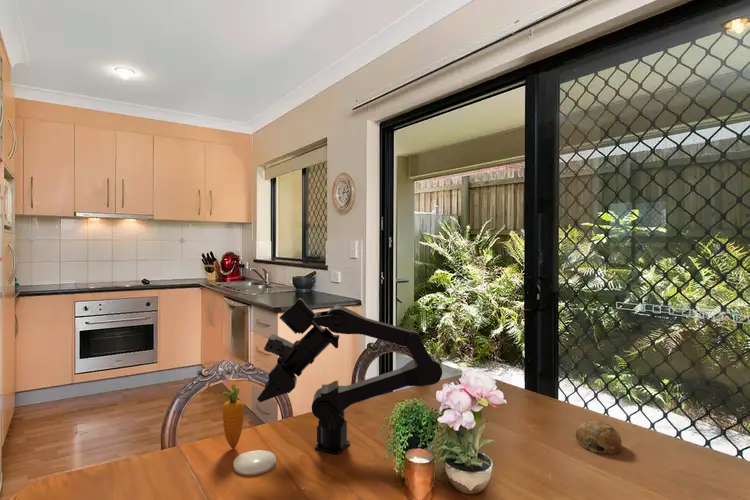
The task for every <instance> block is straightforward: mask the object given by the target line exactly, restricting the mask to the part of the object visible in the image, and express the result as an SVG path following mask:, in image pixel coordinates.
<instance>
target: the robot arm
mask: <svg viewBox="0 0 750 500" xmlns="http://www.w3.org/2000/svg"><path fill="white" fill-rule="evenodd" d="M279 320H281V321H282V322H283V323H284V324H285V325H286V326H287V327H288V329H290V330H291V331H292V332H293V333H294V334H295V335H297V334H299V335H304V334H305V332H306V334H305V335H304V336H302V337H301V338H300V339H298V340H295V342H291V341H290V340H288V339H285V338H283V337H280V336H279V335H276V334H271V335H270V336H269V337H268V340H267V342H266V344H265V345H264V348H263V350H264V351H265V352H267V353H271V354H273V355H276V356H278V357H277V359H276V361H277V363H276V364H275V366H274V367H272V369H271V370H270V371H269V373H268V380H267V381H266V383H265V384H264V388H263V390H262V391H261V393H260V394H259V395H258V396H257V399H256V400H257V401H258V402H259V403H262V402H265V401H267V400H270V399H273V398H276V397H278V396H282V395H284V394H285V395H286V394H290V393H291V392H292V391H293V390H294V389H295V388H296V385H297V382H298V380H297V379H298V378H297V377H300V376H301V375H302V373H303V371H304V370H305V369H306V368H307V367H308V366H309V365H312V364H313V363H314V362H315V359H316V358H317V357H318V356H320V354H321V353H322V352H324V351H325V349H326V348H327V347H328V346H329V345H332V346H333V348H335V349H339V339H340V335H339V334H342V335H363V336H367V337H369V338H373V339H378V340H381V341H385V342H387V343H388V342H389V343H392V344H395V345H399V346H403V347H406V348H408V350H409V352H410V354H411V356H412V357H413V359H411V360H410V361H408V362H407V363H405V365H403V366H402V367H400V368H397V369H394V370H392V371H388V372H385V373H382V374H379V375H376V376H374V377H370V378H367V379H364V380H361V381H358V382H355V383H352V384H349V385H348V384H347V385H339V380H335V381H332V382H330V383H328V384H322V385H321V387H320V388H319V389H317V390H316V391H315V392H314V395H313V399H312V403H311V412H312V414H313V416H314V417H315V418H316V419H318V421H317V422H318V423H317V424H318V425H317V426H316V445H314V450H319V451H323V452H327V453H331V454H335V455H338V454H340V453H341V452H342V451H344V449H345V448H347V447H348V446H349V445H350V444H351V441H350V440H348V439H347V438H348V421H347V420H346V419H345V418H346V415H345V413H346V409H347V408H349V407H350V406H351V405H355V404H357V403H361V402H363V401H367V400H369V399H372V398H375V397H379V396H382V395H385V394H388V393H390V392H394V391H396V390H400V389H403V388H406V387H426V386H427V387H428V386H433V385H436V384H437V383H439V382H440V380H441V378H442V377H443V376H442V375H443V369H442V367H441V365H440V363H439V362H438V361H437V359H436V358H435V357H434V356H432V355H431V354H430V353H429V352H428V350H427V348H426V346H424V343H423V342H422V339H421V336H420V335H419V333H418V332H417V331H416V330H414V329H412V328H411V329H407V328H405V327H404V328H403V327H400V326H396V325H393V324H389V323H387V322H384V321H379V320H375V319H371V318H368V317H365V316H362V315H361V314H359V313H357V312H356V311H354V310H351V309H349V308H347V307H345V306H343V305H334V306H332V307H331V308H330V309H329V310H323V311H317V312H315V311H313V309H312V308H310V307H309V305H308V304H306V302H305V301H304V299H303V298H298V299H297V301H296V302H294V304H293V305H290V306H289V307H288V308H287V309H286V310H285V311H284V312H283V313H282V314H281V315H280V316H279ZM311 326H312V327H311ZM322 327H324V328H322ZM309 328H310V329H309ZM308 329H309V331H308Z"/></svg>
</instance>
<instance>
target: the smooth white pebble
mask: <svg viewBox="0 0 750 500" xmlns="http://www.w3.org/2000/svg"><path fill="white" fill-rule="evenodd" d="M276 459H277V458H276V455H275V454H274V453H273V452H271V451H269V450H261V449H257V450H251V451H246V452H243V453H241V454H239V455H238V456H236V457H235V459H234V460H233V467H232V468H233V471H234V472H235V473H237V474H240V475H244V476H254V475H255V476H256V475H261V474H264V473H266V472H268V471H270V470H272V469H273V468H274V467H275V465H276V462H277V461H276Z"/></svg>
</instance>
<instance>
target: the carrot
mask: <svg viewBox="0 0 750 500" xmlns="http://www.w3.org/2000/svg"><path fill="white" fill-rule="evenodd" d="M230 386H231V391H230V393H229V392H227V391H223V392H222V395H224V396H225V397H227V398H228V400H227V401H225V403H223V406H222V423H223V429H224V430H223V431H224V434H225V435H224V436H225V439H226V441H227V443H228V445H229V447H230V448H231V449H232V450H234V449H235V448H237V445H238V443H239V441H240V438H241V435H242V429H243V424H244V416H245V415H244V413H245V403H244V402H243V400H239V399H238V396H239V392H240V388H239V387H236V384H231V385H230Z"/></svg>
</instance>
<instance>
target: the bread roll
mask: <svg viewBox="0 0 750 500" xmlns="http://www.w3.org/2000/svg"><path fill="white" fill-rule="evenodd" d="M575 440H576V441H577V443H578V445H580V446H581V447H582V448H583V449H586V450H588V451H590V452H591V453H598V454H610V455H615V454H619V453H620V451H621V450H622V436H621V434H620V433H619V432H618V430H617V429H616V428H615V427H613V426H612V425H611V424H610V423H608V422H607V421H605V420H602V419H597V418H595V419H590V420H587V422H583V423H581V424H580V425H579V426H578V427H577V429H576V432H575Z"/></svg>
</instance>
